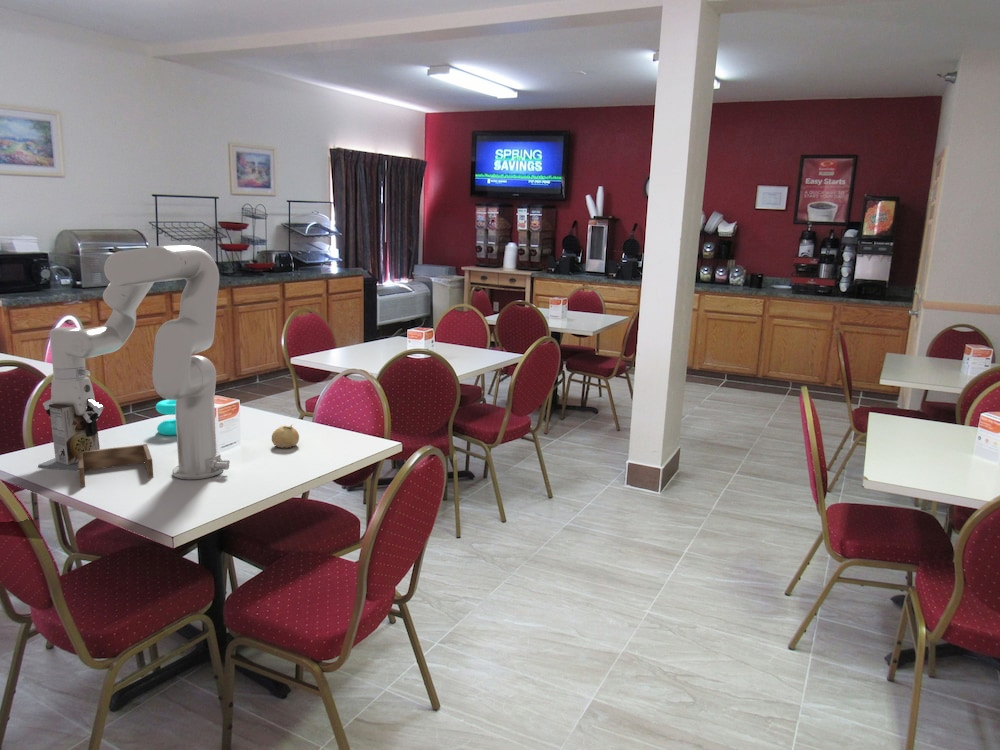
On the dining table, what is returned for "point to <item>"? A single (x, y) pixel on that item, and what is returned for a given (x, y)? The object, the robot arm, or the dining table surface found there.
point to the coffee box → (70, 434)
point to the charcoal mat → (59, 465)
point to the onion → (285, 436)
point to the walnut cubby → (114, 459)
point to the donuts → (167, 409)
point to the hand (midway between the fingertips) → (75, 434)
